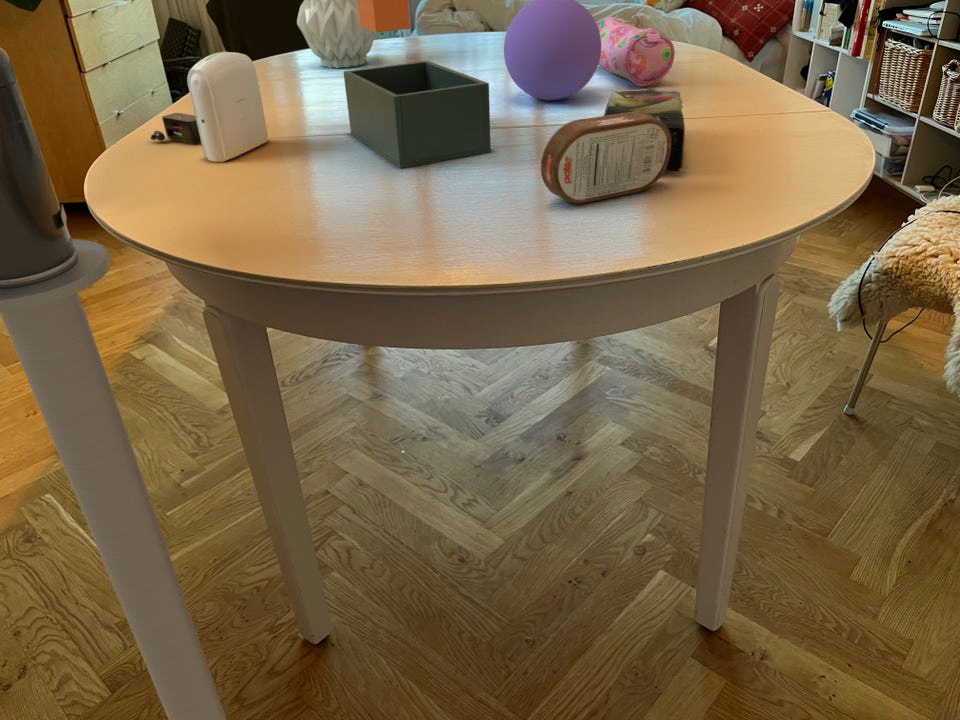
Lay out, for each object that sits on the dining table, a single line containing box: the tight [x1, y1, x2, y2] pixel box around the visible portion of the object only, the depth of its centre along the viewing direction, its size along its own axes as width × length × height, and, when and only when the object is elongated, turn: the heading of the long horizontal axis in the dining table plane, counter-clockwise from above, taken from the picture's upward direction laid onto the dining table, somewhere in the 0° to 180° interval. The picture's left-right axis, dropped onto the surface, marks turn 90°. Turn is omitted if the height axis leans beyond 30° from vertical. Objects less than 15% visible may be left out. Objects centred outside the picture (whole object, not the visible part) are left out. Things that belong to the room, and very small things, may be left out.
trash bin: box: [343, 60, 492, 169], centre depth 100 cm, size 13×19×8 cm
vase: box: [296, 0, 377, 69], centre depth 148 cm, size 16×16×18 cm
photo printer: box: [186, 51, 269, 163], centre depth 99 cm, size 10×4×12 cm, turn 158°
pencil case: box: [597, 15, 676, 87], centre depth 132 cm, size 21×9×9 cm, turn 11°
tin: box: [540, 111, 672, 205], centre depth 80 cm, size 15×3×8 cm, turn 115°
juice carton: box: [603, 88, 686, 172], centre depth 94 cm, size 20×10×6 cm, turn 169°
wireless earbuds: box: [150, 112, 202, 145], centre depth 106 cm, size 5×7×3 cm, turn 56°
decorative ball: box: [503, 0, 601, 101], centre depth 117 cm, size 15×15×15 cm
